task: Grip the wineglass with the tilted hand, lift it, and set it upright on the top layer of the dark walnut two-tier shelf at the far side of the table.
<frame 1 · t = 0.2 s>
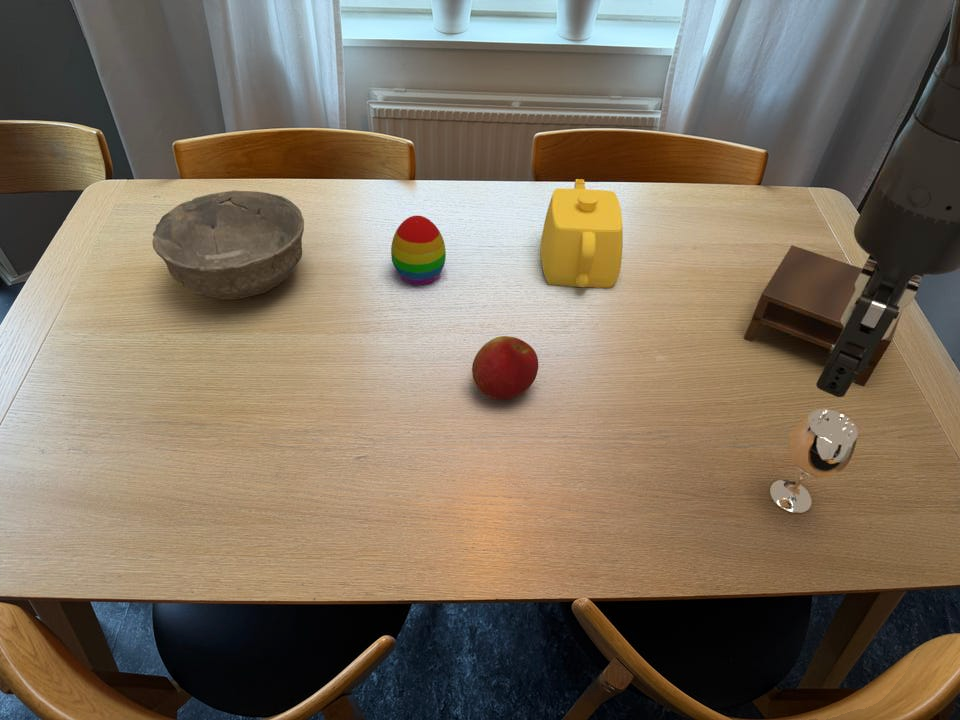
hand: (843, 361, 56), 23 cm above the table, tool pointing down, fingers open, 8 cm apart
shelf: (815, 333, 93), on the table
apple: (503, 390, 84), on the table
teapot: (577, 260, 105), on the table
wineglass: (789, 497, 74), on the table
bowl: (245, 282, 100), on the table
decorative egg: (419, 275, 102), on the table
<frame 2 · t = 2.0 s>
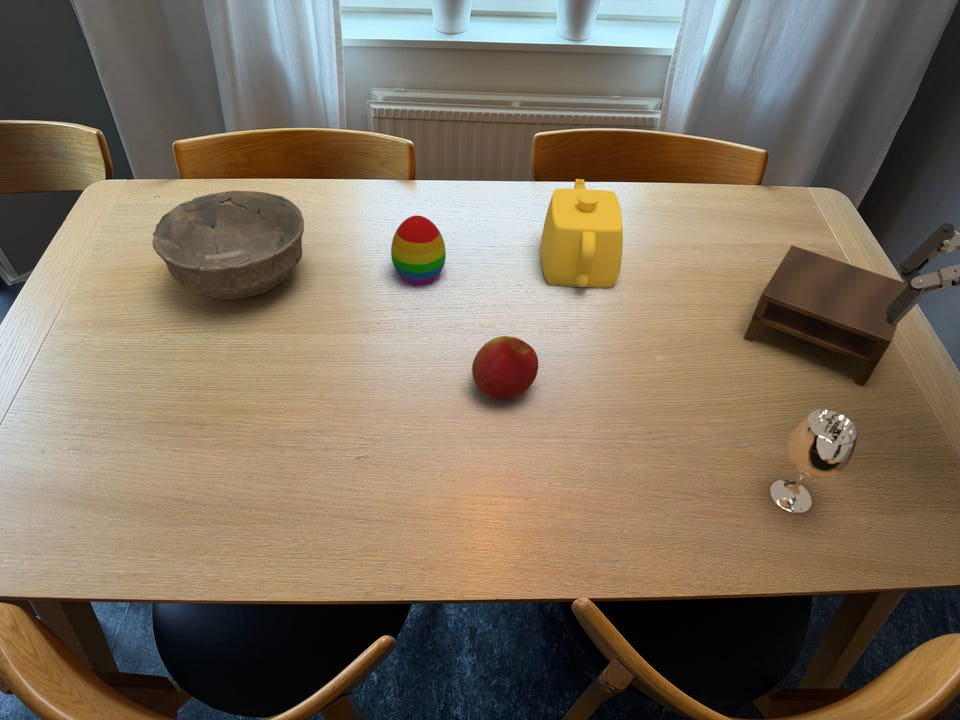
hand: (929, 349, 63), 19 cm above the table, tool tilted 40°, fingers open, 8 cm apart
nothing on the table moved.
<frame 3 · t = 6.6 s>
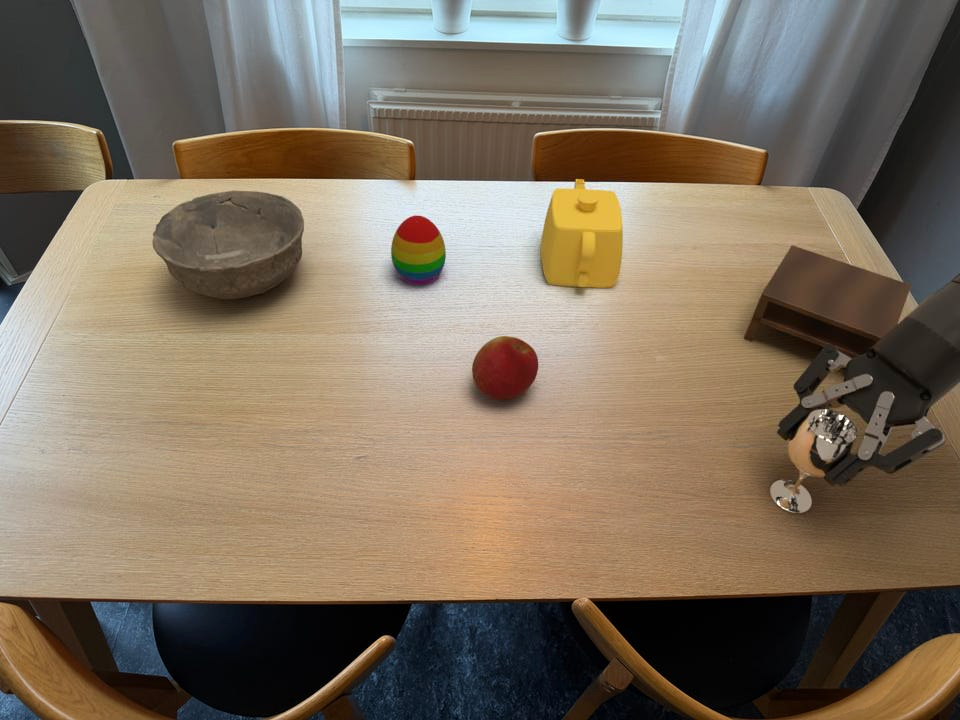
hand: (804, 458, 67), 8 cm above the table, tool tilted 45°, fingers closed on wineglass, 5 cm apart
wineglass: (790, 497, 74), on the table, touching gripper
everything else where it was.
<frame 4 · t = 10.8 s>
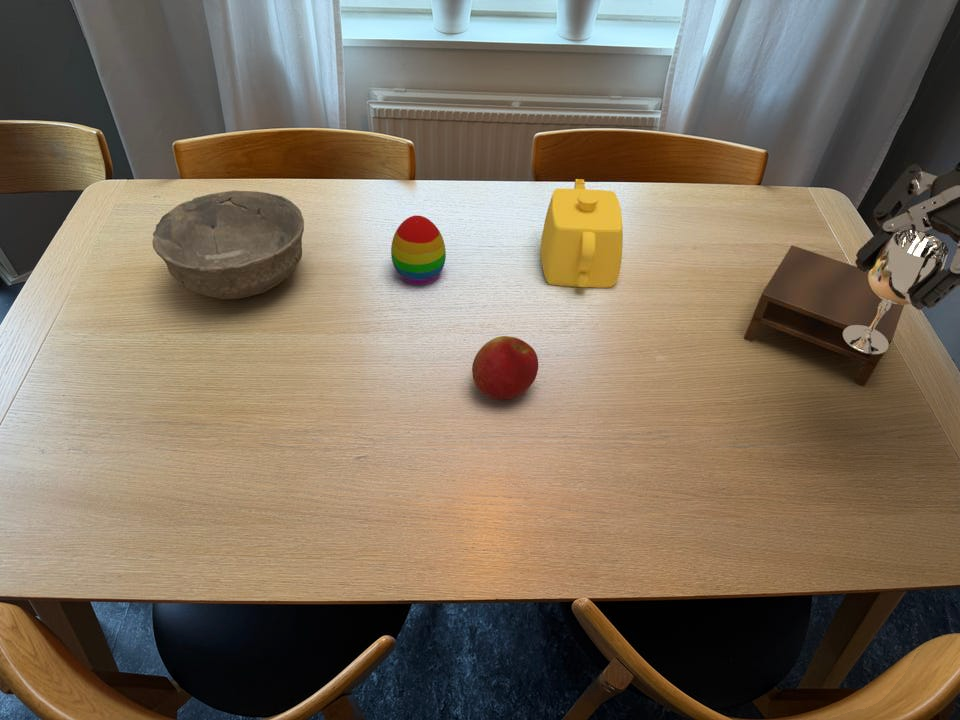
hand: (886, 285, 63), 23 cm above the table, tool tilted 45°, fingers closed on wineglass, 5 cm apart
wineglass: (864, 341, 69), point 15 cm above the table, touching gripper
everything else where it was.
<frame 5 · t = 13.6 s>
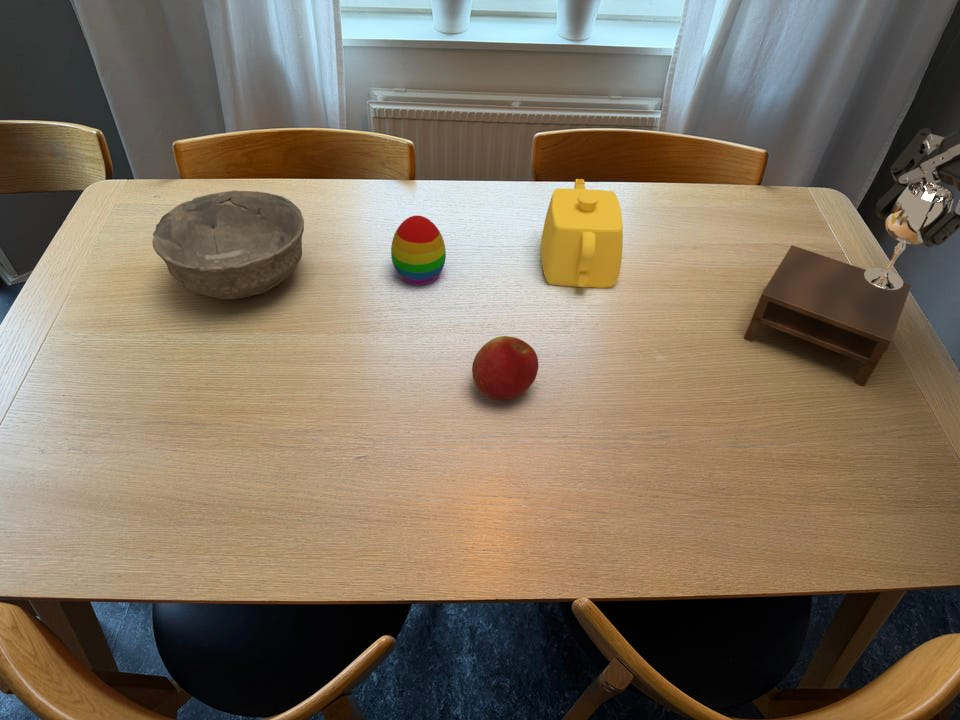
hand: (902, 228, 75), 21 cm above the table, tool tilted 45°, fingers closed on wineglass, 5 cm apart
wineglass: (882, 280, 81), point 13 cm above the table, touching gripper
everything else where it was.
when the fingers open (16 cm above the table, at t = 15.5 s): wineglass stays where it is, resting on shelf.
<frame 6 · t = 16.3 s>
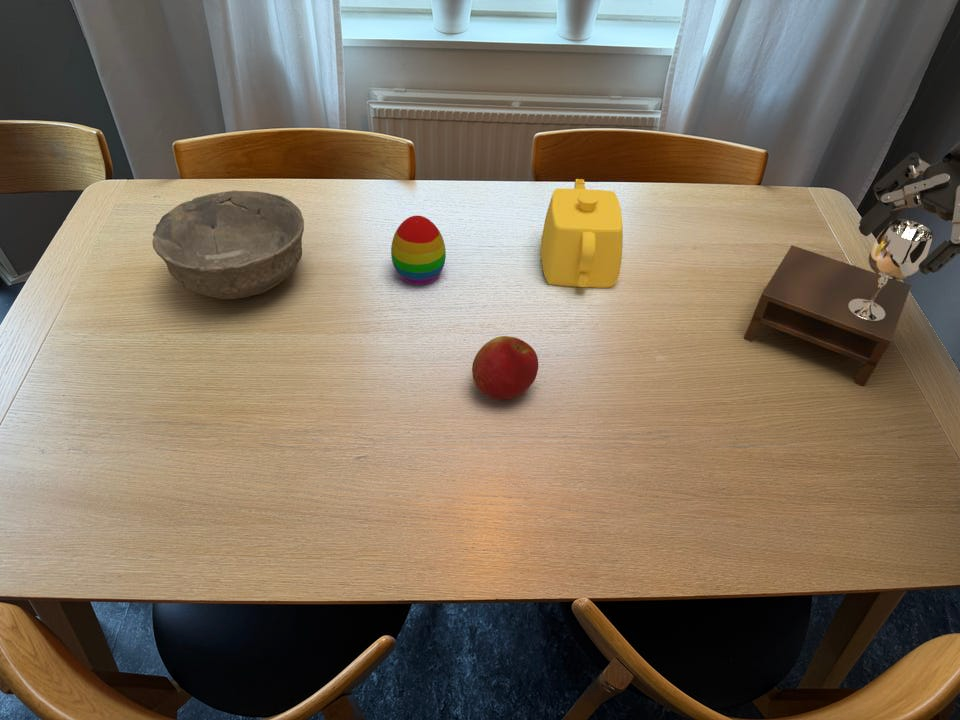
hand: (891, 250, 78), 18 cm above the table, tool tilted 45°, fingers open, 8 cm apart
wineglass: (865, 311, 85), point 8 cm above the table, touching shelf
everything else where it was.
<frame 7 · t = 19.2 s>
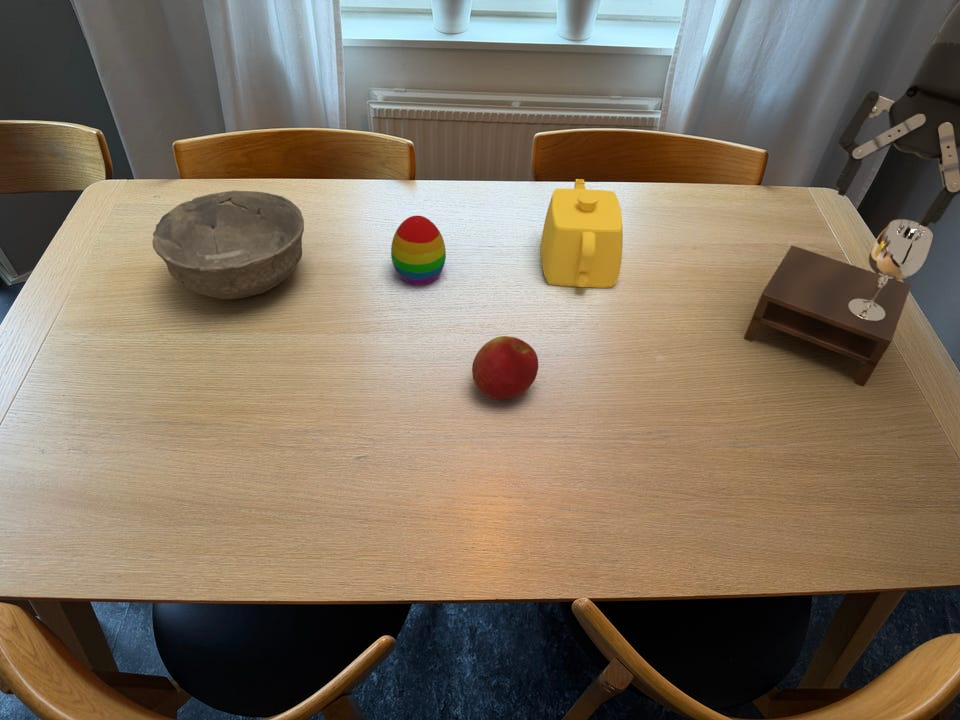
hand: (880, 210, 71), 25 cm above the table, tool tilted 30°, fingers open, 8 cm apart
nothing on the table moved.
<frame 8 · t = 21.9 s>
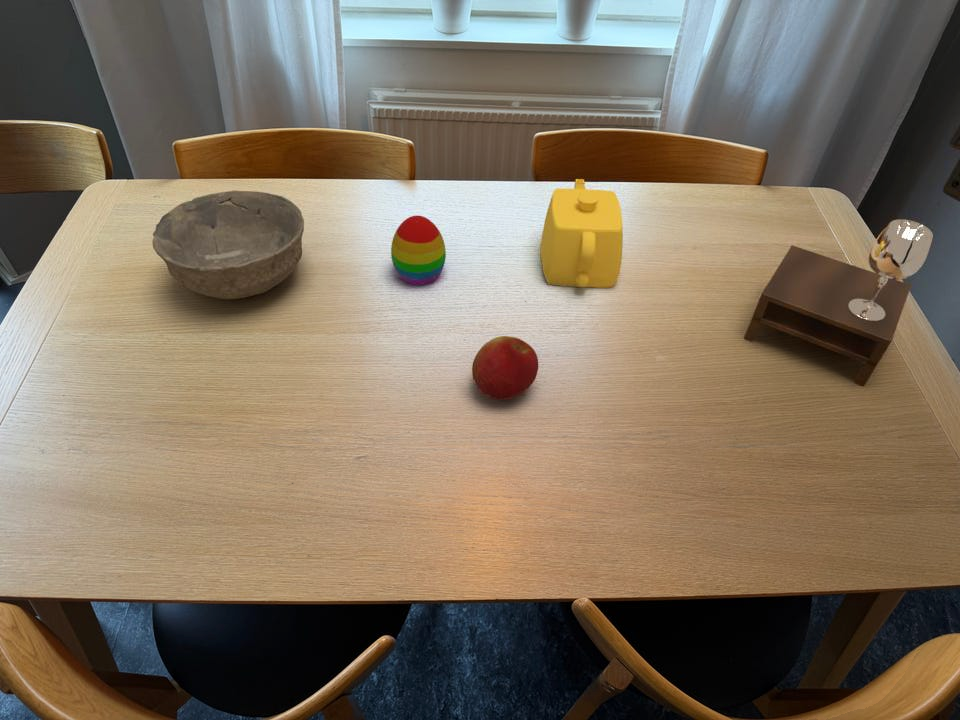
nothing on the table moved.
at the end: wineglass inside the target area on the shelf (0.4 cm from its centre), point 7.8 cm above the shelf's base; wineglass tilted 0°; the gripper is holding nothing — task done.
